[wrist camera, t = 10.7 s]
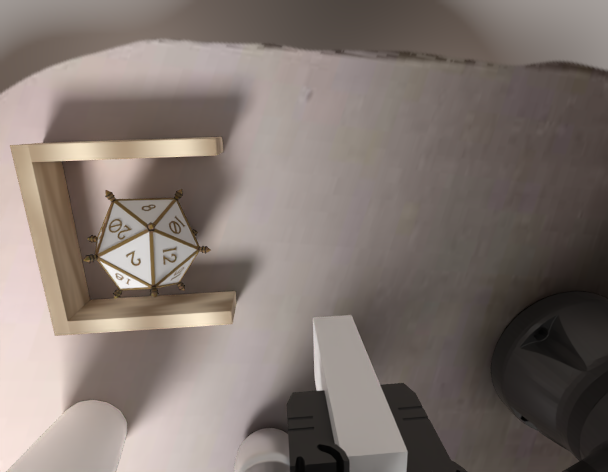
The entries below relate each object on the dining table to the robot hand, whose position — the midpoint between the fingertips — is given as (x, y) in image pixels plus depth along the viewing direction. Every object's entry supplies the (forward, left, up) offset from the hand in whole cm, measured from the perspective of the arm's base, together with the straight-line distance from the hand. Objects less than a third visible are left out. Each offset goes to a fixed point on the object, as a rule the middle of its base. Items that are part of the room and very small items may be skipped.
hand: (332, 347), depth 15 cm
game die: (+12, 0, -20) cm, 24 cm away
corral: (+13, 0, -20) cm, 24 cm away
